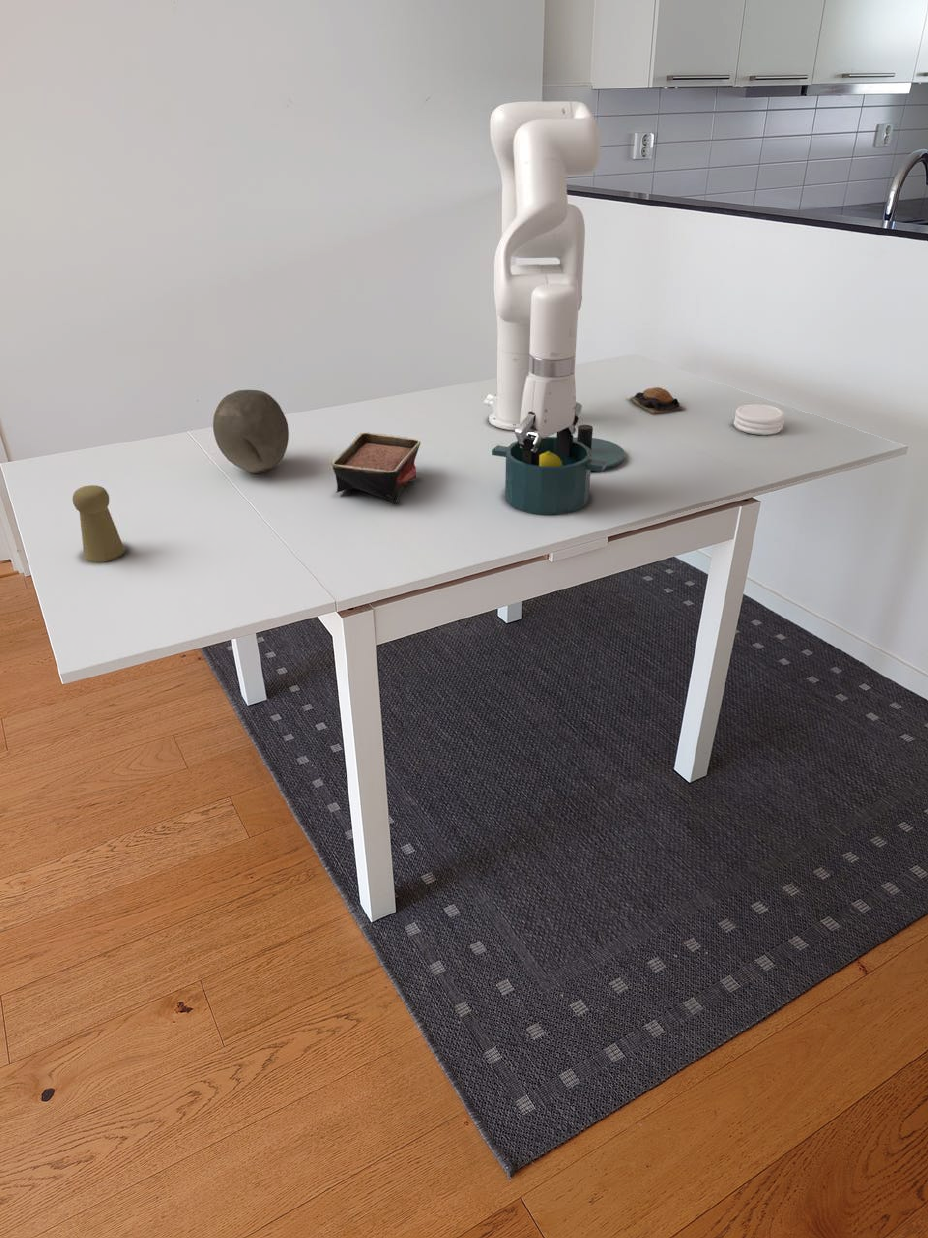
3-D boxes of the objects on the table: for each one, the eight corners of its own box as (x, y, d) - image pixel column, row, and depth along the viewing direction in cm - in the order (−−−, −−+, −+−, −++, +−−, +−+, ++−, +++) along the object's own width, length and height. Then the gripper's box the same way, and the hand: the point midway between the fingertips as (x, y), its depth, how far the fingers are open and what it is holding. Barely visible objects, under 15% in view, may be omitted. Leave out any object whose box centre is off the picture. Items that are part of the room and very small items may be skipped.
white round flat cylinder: (788, 424, 187) (791, 408, 186) (774, 438, 180) (777, 422, 179) (741, 416, 192) (744, 400, 190) (726, 430, 185) (729, 413, 183)
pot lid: (558, 438, 182) (559, 409, 179) (633, 448, 176) (636, 419, 173) (531, 465, 170) (532, 434, 166) (611, 477, 164) (614, 446, 161)
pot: (508, 473, 166) (509, 430, 162) (612, 490, 159) (616, 445, 155) (478, 503, 155) (478, 457, 150) (588, 523, 148) (592, 475, 143)
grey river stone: (308, 462, 172) (300, 385, 164) (265, 489, 161) (254, 408, 153) (248, 451, 177) (237, 376, 169) (203, 476, 166) (189, 398, 158)
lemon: (560, 501, 154) (562, 458, 150) (528, 499, 155) (530, 456, 151) (563, 489, 159) (566, 446, 154) (533, 486, 160) (534, 444, 155)
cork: (90, 545, 143) (73, 481, 137) (128, 543, 143) (113, 479, 137) (79, 562, 138) (62, 497, 132) (119, 561, 138) (103, 495, 132)
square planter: (431, 486, 166) (429, 432, 163) (394, 510, 151) (390, 452, 147) (361, 482, 171) (357, 430, 167) (318, 506, 155) (313, 449, 152)
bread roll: (627, 400, 202) (628, 384, 200) (660, 396, 204) (661, 380, 202) (651, 414, 193) (652, 398, 192) (684, 410, 196) (686, 393, 194)
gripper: (564, 349, 152) (559, 443, 162) (500, 372, 141) (499, 472, 151) (600, 357, 148) (593, 453, 157) (538, 382, 137) (534, 484, 146)
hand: (547, 463), depth 154 cm, fingers open, 9 cm apart
